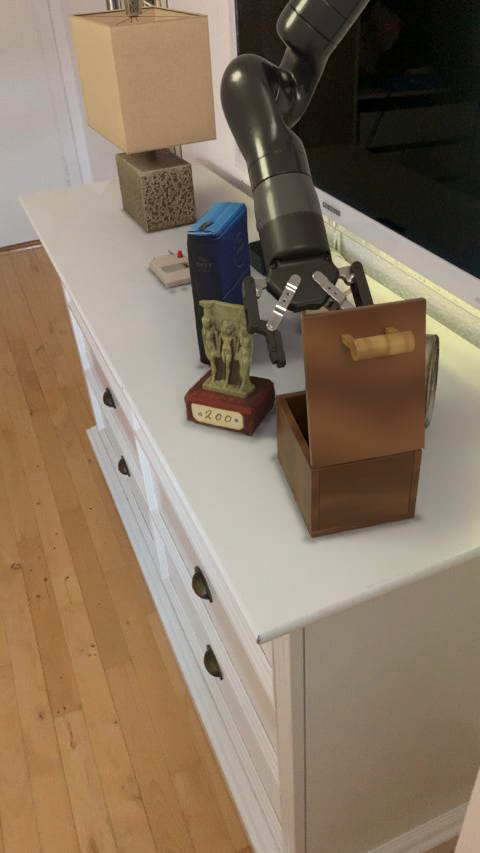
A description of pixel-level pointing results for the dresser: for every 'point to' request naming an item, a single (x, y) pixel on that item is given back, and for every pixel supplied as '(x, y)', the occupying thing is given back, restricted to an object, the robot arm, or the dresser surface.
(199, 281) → the book
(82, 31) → the lamp
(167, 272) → the remote control
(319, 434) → the lid
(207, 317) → the sculpture
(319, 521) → the chest
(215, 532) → the dresser surface
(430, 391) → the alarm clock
